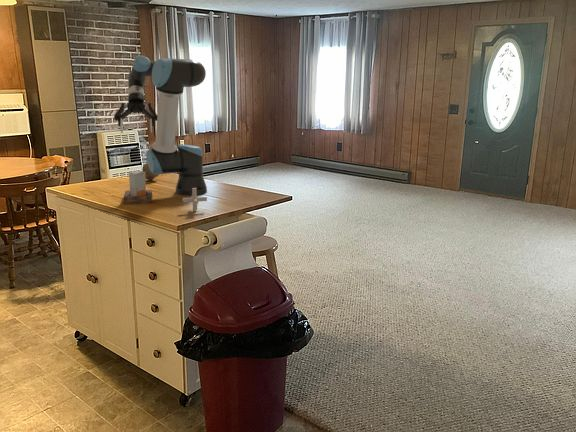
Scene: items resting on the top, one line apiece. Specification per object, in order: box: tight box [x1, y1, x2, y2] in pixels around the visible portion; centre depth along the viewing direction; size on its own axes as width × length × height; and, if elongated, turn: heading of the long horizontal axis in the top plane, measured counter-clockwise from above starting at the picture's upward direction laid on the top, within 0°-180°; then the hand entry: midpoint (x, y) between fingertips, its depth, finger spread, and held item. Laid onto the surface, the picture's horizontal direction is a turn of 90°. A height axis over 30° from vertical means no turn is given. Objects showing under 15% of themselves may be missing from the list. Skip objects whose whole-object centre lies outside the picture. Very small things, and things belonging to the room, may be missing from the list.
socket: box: [122, 189, 153, 205], centre depth 231 cm, size 12×14×3 cm
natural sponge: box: [141, 162, 160, 181], centre depth 272 cm, size 9×9×10 cm
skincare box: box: [128, 170, 147, 196], centre depth 229 cm, size 6×4×12 cm
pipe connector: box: [182, 188, 208, 212], centre depth 213 cm, size 10×10×10 cm
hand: (136, 131), depth 238 cm, fingers open, 13 cm apart
